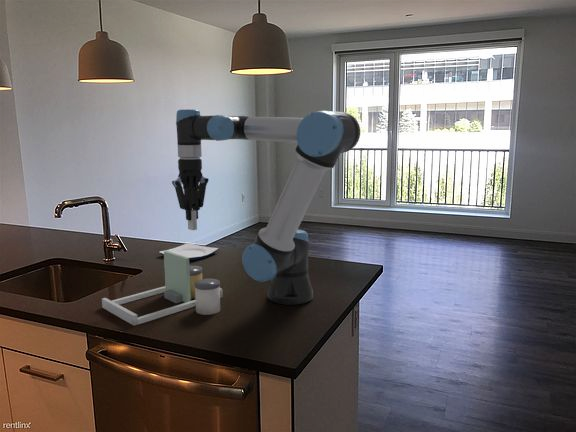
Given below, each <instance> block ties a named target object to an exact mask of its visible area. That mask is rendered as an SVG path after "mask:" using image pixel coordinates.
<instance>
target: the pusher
mask: <svg viewBox="0 0 576 432" xmlns="http://www.w3.org/2000/svg"><path fill="white" fill-rule="evenodd" d="M163 251H164V255H163V265H164V286H165V287H166V291H164V292H163V295H164V296H163V297H164V299H166V300H168V301H170V302H172V303H175V304H179V303H182V302H183V303H186V302H189V301H192V299H191V292H190V268H189V266H190V261H189V258H188V257H184V256H181V255H178V254H175V253H172V252H169V251H165V250H163Z"/></svg>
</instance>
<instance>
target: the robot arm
mask: <svg viewBox="0 0 576 432" xmlns="http://www.w3.org/2000/svg"><path fill="white" fill-rule="evenodd" d="M175 116H176V121H175V125H176V136H177V144H176V145H177V158H179V159H178V160H177V164H178V165H177V167H178V175H177V178H176V179H175V180H172V181H171V184H172V186H173V187H174V190H175V194H176V197H177V201H178V205H179V208H180V209H182V210H183V211H185V220H186V221H187V230H190V231H197V230H198V221H197V220H198V219H199V211H200V210H201V208H203V207H204V202H205V198H206V197H205V196H206V189H207V185H208V183H209V181H210V180H209V178H207V177H205V176H203V173H202V170H203V162H202V161H203V160H202V159H201V157H203V156H202V141H217V142H218V141H222V142H223V141H229V140H244V141H245V140H246V141H247V140H248V141H249V140H252V141H265V142H266V141H268V142H270V141H271V142H281V143H283V142H284V143H297V146H296V148H295V150H294V151H295V154H296V157H297V159H296V161H295V163H294V166H293V167H292V169H291V172H290V174H289V176H288V178H287V181H286V184H285V186H284V187H283V190H282V192H281V195H280V196H279V199H278V201H277V202H276V206H275V208H274V210H273V212H272V214H271V216H270V219H269V221H268V222H267V225H266V227H263V228H261V229H259V231H258V233H257V234H256V235H257V236H256V237H255V240H254V242H253V243H252V244H249V245H248V246H247V247H245V249H244V250H243V252H242V254H241V256H242V257H241V263H242V265H243V268H244V271H245V272H246V273H247V275H248V276H249V277H250V278H251V279H252V280H255V281H256V282H260V283H263V282H267V281H270V283H269V287H268V289H267V298H268V300H270V301H271V302H273V303H274V304H278V305H279V304H280V305H285V306H286V305H287V306H290V305H291V306H294V305H302V304H306V303H308V302H310V301H312V300H313V299H314V289H313V287H312V284H311V280H310V277H309V242H310V241H309V234H308V232H307V231H306V230H303V229H299V227H300V225H301V223H302V221H303V219H304V217H305V214H306V213H307V210H308V209H309V207H310V205H311V202H312V200H313V198H314V196H315V194H316V192H317V190H318V187H319V186H320V184H321V182H322V179H323V178H324V176H325V174H326V171H328V170H331V169H334V167H335V166H336V164H337V161H338V159H339V157H340V155H341V154H343V153H347V152H349V151H350V150H351V151H352V150H353V149H354V147H356V146H357V144H358V142H359V141H360V138H361V137H360V136H361V127H360V123H359V121H358V120H357V119H356V118H355V116H353V115H352V114H351V113H349V112H346V111H334V110H333V111H331V110H327V109H322V110H316V111H313V112H310V113H308V114H306V115H305V116H304V117H284V116H283V117H282V116H278V117H277V116H248V115H247V116H246V115H222V114H220V115H219V114H218V115H217V114H216V115H201V110H199V109H189V108H188V109H178V110H177V111H176V115H175Z"/></svg>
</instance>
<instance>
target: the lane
mask: <svg viewBox="0 0 576 432" xmlns="http://www.w3.org/2000/svg"><path fill="white" fill-rule="evenodd" d="M164 291H166V287H165V285H164V286H160V287H156V288H154V289H153V288H152V289H149V290H146V291H142V292H138V293H135V294H132V295H127V296H124V297H120V298H116V299H113V300H111V299H109V298H107V297H103V298H101V305H102V309H104V310H106V311H107V312H110V314H112V315H114V316H116V317H118V318H120V319H121V320H123V321H125V322H126V323H128V324H130V325H132V326H138V325H141V324H144V323H147V322H151V321H154V320H157V319H160V318H163V317H165V316H168V315H173V314H175V313H178V312H179V313H180V312H182V311H185V310H187V309H191V308H193V307H194V308H195V307H196V299H194V300H191V301H189V302H186V303H185V302H183V303H180V304H177V305H173V306H171V307H167V308H164V309H160V310H157V311H154V312H151V313H148V314H145V315H142V316H138V314H137V313H135V312H133V311H131V310H129V309H127V308H126V307H124V306H122V305H123V304H127V303H130V302H134V301H135V302H136V301H138V300H140V299H141V300H142V299H145V298H148V297H151V296H156V295H159V294H162V293H163V294H164ZM223 294H224V291H223V288H221V287H220V299H222V298H224V297H223Z"/></svg>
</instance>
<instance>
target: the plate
mask: <svg viewBox="0 0 576 432" xmlns="http://www.w3.org/2000/svg"><path fill="white" fill-rule="evenodd" d="M218 250H220V249H219V247H209V246H203V245H198V244H194V243H190V242H188V243H185V244H182V245H180V246H177V247H173V248H170V249H167V250H166V249H165V250H162V251H159V252H158V253H159V254H160V255H161V256H164V251H169V252H172V253H175V254H178V255H181V256H184V257H188V258H189V262H191V261H196V260H200V259H204V258H206V256H207V257H209V256H211V255H214V254H215V253H216V252H217V251H218ZM190 260H191V261H190Z"/></svg>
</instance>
